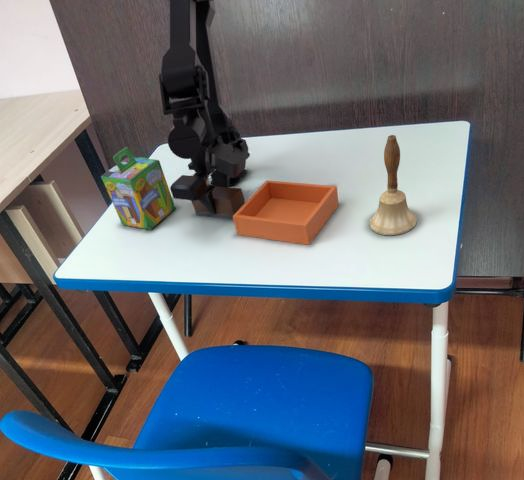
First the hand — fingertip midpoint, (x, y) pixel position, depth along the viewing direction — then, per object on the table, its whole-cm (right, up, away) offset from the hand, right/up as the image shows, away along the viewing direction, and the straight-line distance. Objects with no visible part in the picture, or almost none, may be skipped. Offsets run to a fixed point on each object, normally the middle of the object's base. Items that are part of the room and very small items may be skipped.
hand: (219, 207), depth 110 cm
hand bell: (+32, -7, -14) cm, 36 cm away
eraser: (0, -1, +1) cm, 1 cm away
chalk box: (-16, -1, +6) cm, 17 cm away
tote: (+14, -4, -7) cm, 16 cm away
